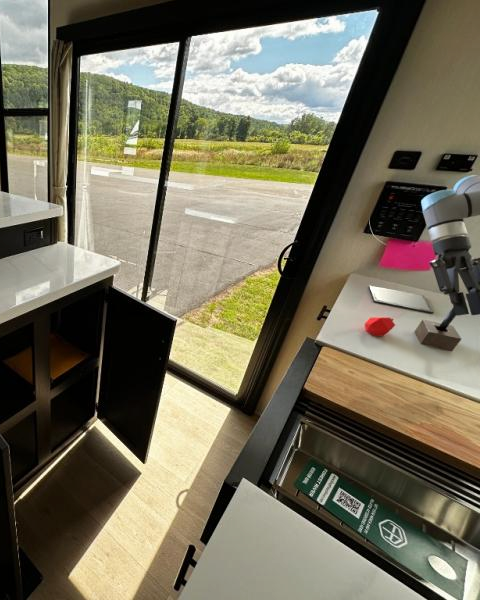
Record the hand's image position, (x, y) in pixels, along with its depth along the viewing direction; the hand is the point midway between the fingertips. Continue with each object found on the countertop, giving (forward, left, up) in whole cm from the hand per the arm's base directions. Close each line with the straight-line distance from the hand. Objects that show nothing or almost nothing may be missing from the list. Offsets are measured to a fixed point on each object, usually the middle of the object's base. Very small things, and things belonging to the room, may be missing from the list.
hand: (470, 314), depth 92 cm
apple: (+17, 0, -13) cm, 22 cm away
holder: (+2, -3, -13) cm, 14 cm away
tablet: (+6, -29, -13) cm, 33 cm away
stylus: (+2, -3, -13) cm, 14 cm away
